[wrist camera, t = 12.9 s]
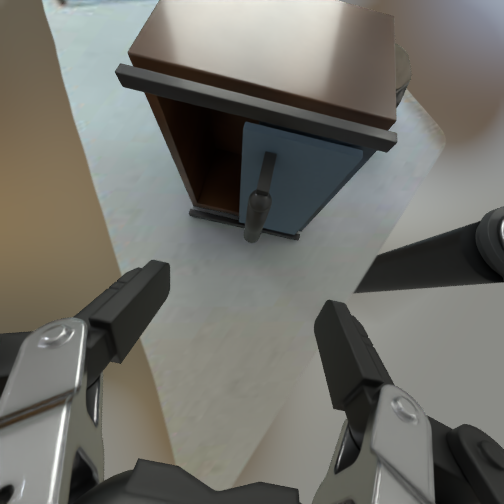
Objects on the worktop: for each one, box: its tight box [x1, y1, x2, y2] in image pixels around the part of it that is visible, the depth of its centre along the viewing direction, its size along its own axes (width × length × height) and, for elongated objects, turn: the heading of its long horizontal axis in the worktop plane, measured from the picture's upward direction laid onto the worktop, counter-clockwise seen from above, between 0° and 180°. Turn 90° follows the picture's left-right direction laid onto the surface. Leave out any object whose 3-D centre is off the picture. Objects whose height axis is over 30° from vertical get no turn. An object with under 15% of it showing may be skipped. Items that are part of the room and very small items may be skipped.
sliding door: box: [239, 122, 363, 243], centre depth 17 cm, size 7×4×13 cm, turn 78°
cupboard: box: [115, 0, 397, 240], centre depth 19 cm, size 15×12×16 cm
